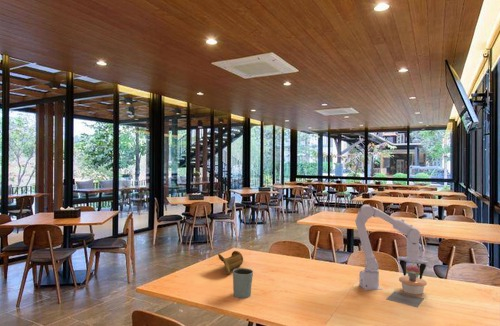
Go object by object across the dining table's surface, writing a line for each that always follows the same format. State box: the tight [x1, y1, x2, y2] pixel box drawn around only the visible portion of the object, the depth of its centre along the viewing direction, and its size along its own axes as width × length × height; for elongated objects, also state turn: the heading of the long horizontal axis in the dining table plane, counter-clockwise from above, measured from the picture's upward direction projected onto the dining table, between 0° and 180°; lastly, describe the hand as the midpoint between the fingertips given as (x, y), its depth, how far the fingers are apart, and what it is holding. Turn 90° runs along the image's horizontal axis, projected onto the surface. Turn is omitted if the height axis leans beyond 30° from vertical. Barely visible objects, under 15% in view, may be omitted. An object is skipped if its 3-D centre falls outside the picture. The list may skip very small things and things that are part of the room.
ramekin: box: [400, 282, 425, 295], centre depth 171 cm, size 11×11×5 cm
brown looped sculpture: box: [217, 250, 244, 275], centre depth 203 cm, size 18×13×22 cm
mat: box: [386, 290, 425, 308], centre depth 160 cm, size 14×14×1 cm
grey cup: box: [232, 267, 254, 299], centre depth 163 cm, size 10×10×12 cm
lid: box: [398, 272, 428, 287], centre depth 171 cm, size 13×13×5 cm
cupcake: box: [406, 263, 420, 278], centre depth 193 cm, size 9×8×12 cm
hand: (412, 276), depth 171 cm, fingers open, 7 cm apart
